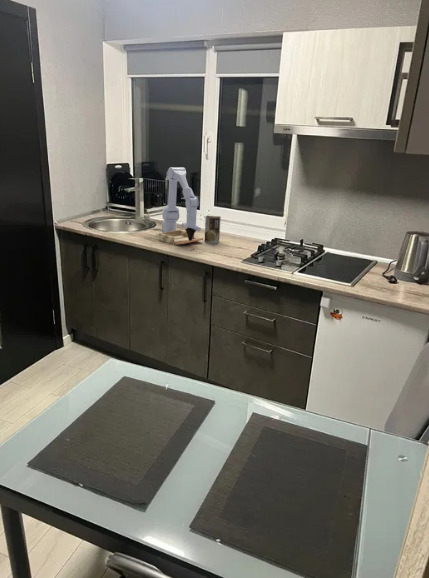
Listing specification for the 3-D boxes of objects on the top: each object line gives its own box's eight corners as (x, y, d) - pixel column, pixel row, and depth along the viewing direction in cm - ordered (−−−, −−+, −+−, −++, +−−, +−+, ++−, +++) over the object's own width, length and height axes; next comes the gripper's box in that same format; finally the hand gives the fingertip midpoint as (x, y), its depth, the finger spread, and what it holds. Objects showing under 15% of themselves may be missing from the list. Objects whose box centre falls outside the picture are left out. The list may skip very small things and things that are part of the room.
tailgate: (174, 243, 256) (181, 242, 251) (195, 238, 268) (202, 238, 264) (174, 244, 256) (181, 244, 251) (195, 240, 268) (203, 239, 264)
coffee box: (219, 241, 272) (221, 216, 266) (218, 244, 266) (220, 218, 260) (205, 240, 272) (206, 215, 267) (204, 242, 266) (205, 217, 261)
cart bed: (158, 240, 265) (159, 233, 263) (180, 236, 278) (180, 229, 276) (172, 245, 257) (173, 237, 255) (194, 240, 269) (194, 233, 268)
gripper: (178, 216, 256) (177, 238, 260) (195, 221, 246) (194, 244, 251) (186, 215, 260) (185, 237, 265) (203, 219, 251) (202, 242, 256)
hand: (190, 240), depth 259 cm, fingers closed, pressing on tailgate
